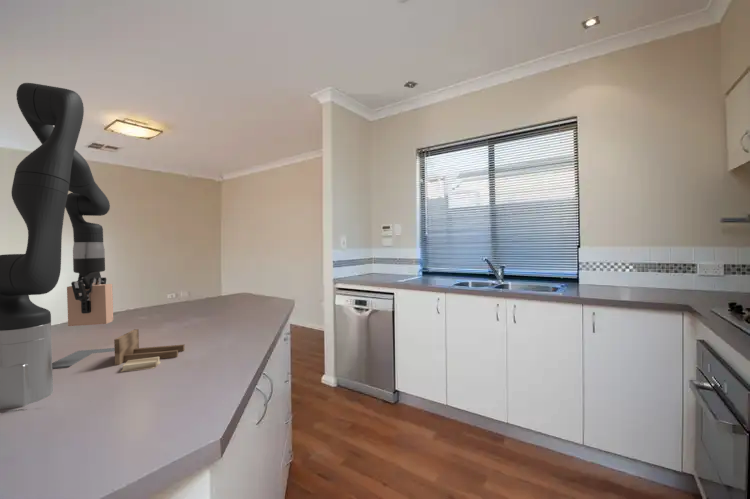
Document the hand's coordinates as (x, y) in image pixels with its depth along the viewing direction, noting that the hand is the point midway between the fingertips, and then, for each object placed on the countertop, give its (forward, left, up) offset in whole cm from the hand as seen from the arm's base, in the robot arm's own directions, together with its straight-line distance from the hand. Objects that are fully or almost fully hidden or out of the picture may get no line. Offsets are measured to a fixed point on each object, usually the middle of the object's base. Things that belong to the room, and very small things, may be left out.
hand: (90, 311), depth 103 cm
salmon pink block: (0, 0, -4) cm, 4 cm away
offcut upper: (-16, -20, -14) cm, 29 cm away
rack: (-6, -20, -15) cm, 25 cm away
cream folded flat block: (-16, -20, -15) cm, 30 cm away
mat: (0, 0, -15) cm, 15 cm away
